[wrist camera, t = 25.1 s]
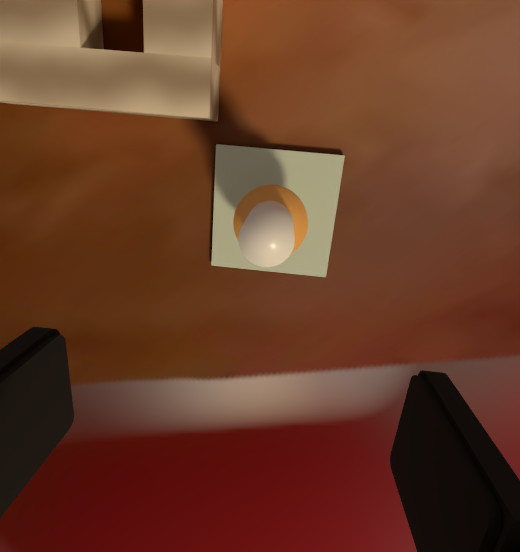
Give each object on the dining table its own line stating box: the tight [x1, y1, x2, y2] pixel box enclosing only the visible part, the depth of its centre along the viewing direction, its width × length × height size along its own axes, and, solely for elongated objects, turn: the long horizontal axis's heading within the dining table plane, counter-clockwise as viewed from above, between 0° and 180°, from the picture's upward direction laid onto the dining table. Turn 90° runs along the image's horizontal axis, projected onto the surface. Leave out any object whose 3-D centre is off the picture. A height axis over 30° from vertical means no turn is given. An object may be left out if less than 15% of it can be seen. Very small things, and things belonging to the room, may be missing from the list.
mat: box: [211, 144, 345, 277], centre depth 36 cm, size 12×12×1 cm
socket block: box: [0, 0, 223, 121], centre depth 30 cm, size 14×20×4 cm
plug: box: [233, 184, 308, 267], centre depth 31 cm, size 6×6×11 cm
